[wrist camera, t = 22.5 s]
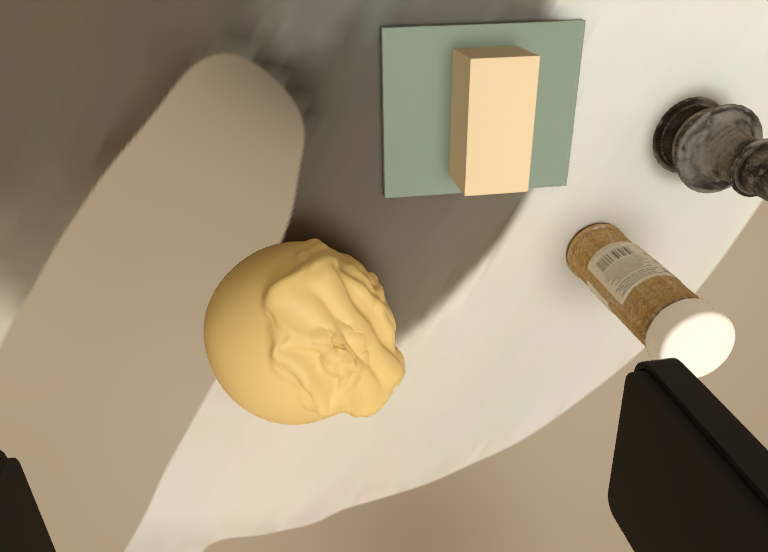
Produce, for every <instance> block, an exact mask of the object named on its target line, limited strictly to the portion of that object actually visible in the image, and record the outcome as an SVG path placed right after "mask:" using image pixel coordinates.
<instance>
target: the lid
mask: <svg viewBox="0 0 768 552" xmlns="http://www.w3.org/2000/svg"><path fill="white" fill-rule="evenodd" d="M585 22H586V21H585V20H581V19H580V20H552V21H524V22H496V23H469V24H441V25H413V26H385V27H381V84H382V143H383V195H384V197H385V198H395V197H409V196H423V195H438V194H452V193H463V194H464V196H471V195H485V194H499V193H514V192H528V188H538V187H552V186H566V184H567V176H568V167H569V159H570V150H571V141H572V133H573V124H574V116H575V107H576V99H577V90H578V82H579V73H580V65H581V56H582V48H583V39H584V31H585Z"/></svg>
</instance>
